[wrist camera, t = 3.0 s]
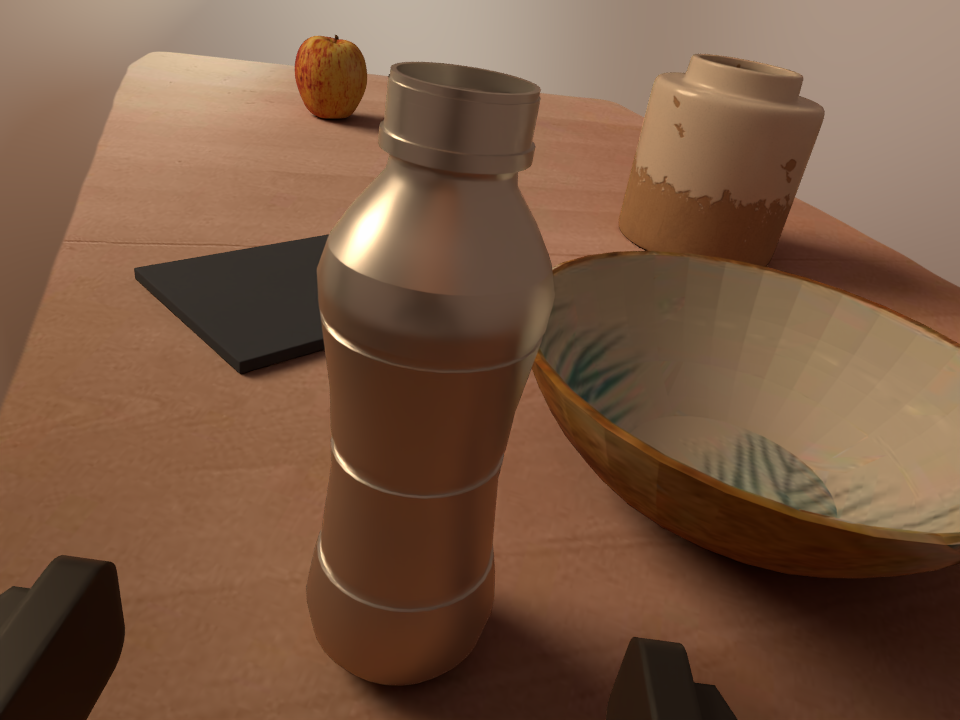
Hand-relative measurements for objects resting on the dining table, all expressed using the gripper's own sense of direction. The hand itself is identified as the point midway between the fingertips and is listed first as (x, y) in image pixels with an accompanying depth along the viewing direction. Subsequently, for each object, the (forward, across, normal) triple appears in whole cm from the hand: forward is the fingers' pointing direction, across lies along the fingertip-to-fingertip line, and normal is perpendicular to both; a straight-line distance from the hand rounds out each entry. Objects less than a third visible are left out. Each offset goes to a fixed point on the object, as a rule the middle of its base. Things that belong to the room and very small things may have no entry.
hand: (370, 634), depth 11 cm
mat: (+38, +11, +13) cm, 41 cm away
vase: (+63, -22, +13) cm, 68 cm away
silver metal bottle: (+11, 0, +14) cm, 17 cm away
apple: (+90, +21, +13) cm, 93 cm away
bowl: (+24, -16, +14) cm, 31 cm away
